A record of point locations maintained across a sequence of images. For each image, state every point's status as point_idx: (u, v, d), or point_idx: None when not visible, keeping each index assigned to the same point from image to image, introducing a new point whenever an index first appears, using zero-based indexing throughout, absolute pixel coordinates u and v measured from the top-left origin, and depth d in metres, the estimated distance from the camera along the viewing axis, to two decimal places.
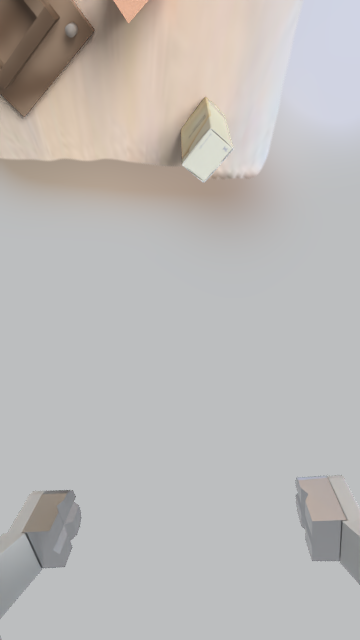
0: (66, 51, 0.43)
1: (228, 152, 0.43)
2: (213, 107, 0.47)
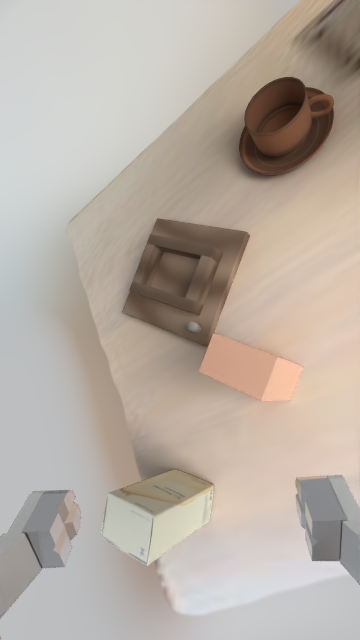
0: (180, 328, 0.44)
1: (141, 559, 0.28)
2: (205, 501, 0.36)
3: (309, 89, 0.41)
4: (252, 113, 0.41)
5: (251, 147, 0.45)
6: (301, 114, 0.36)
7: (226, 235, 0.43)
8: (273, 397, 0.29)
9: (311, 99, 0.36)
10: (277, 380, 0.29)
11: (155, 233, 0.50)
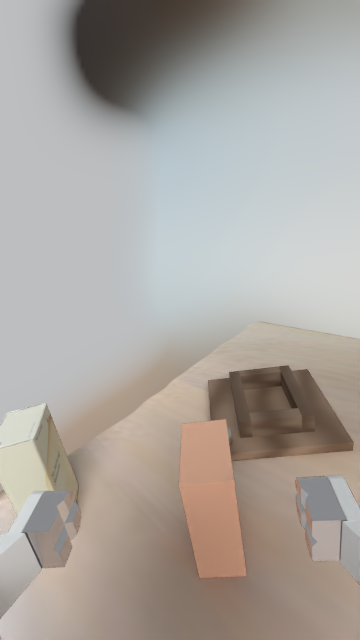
0: None
1: None
2: None
3: None
4: None
5: None
6: None
7: (335, 426, 0.39)
8: (189, 516, 0.24)
9: None
10: (209, 508, 0.24)
11: (292, 373, 0.50)
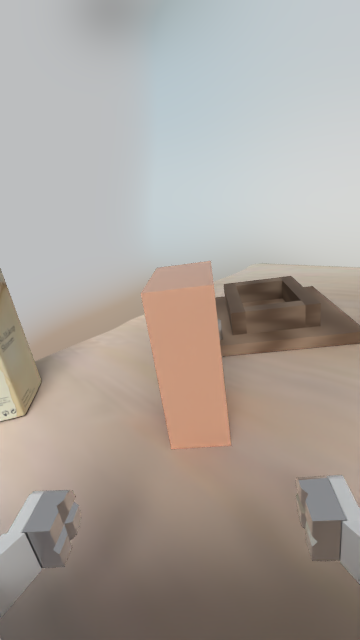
0: None
1: None
2: None
3: None
4: None
5: None
6: None
7: (344, 321, 0.33)
8: (156, 347, 0.18)
9: None
10: (182, 334, 0.18)
11: None
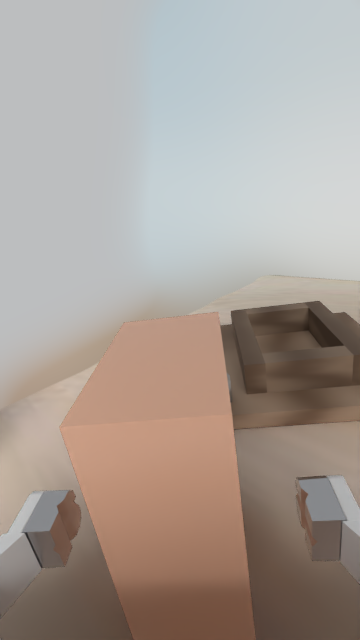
0: None
1: None
2: None
3: None
4: None
5: None
6: None
7: None
8: (105, 526, 0.09)
9: None
10: (160, 506, 0.08)
11: None
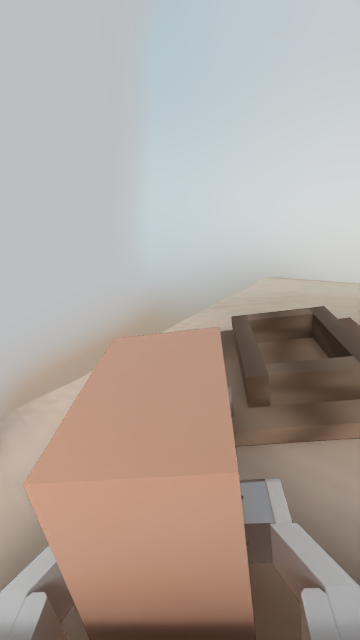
0: None
1: None
2: None
3: None
4: None
5: None
6: None
7: None
8: (84, 594, 0.07)
9: None
10: (150, 575, 0.07)
11: None
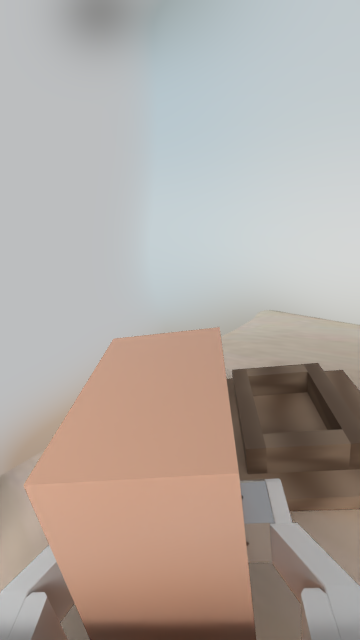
0: None
1: None
2: None
3: None
4: None
5: None
6: None
7: None
8: (84, 595, 0.07)
9: None
10: (150, 575, 0.07)
11: None
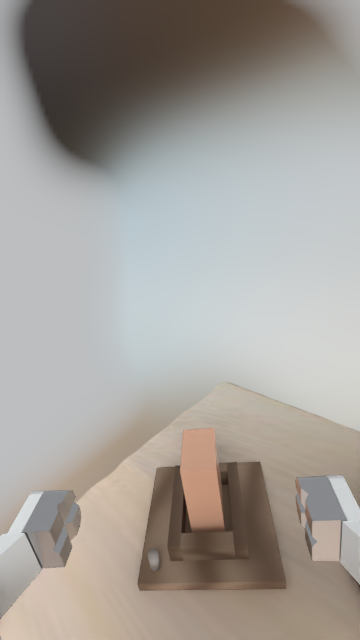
0: (151, 543, 0.39)
1: None
2: None
3: None
4: None
5: None
6: None
7: (271, 554, 0.36)
8: (187, 493, 0.36)
9: None
10: (200, 488, 0.36)
11: (244, 466, 0.48)
